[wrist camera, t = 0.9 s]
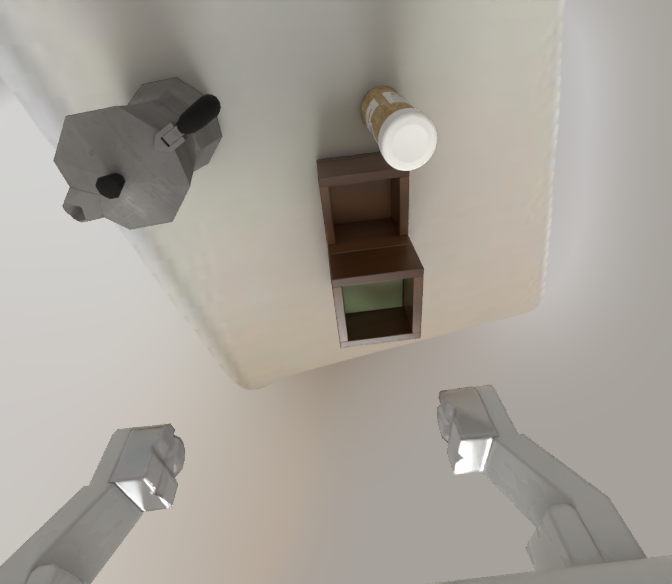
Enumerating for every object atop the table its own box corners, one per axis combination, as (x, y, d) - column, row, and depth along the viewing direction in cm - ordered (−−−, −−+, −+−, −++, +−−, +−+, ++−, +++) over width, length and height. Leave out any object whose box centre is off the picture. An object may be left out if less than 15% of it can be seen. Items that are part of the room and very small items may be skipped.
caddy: (316, 160, 42) (320, 206, 32) (397, 149, 42) (427, 193, 32) (333, 283, 53) (340, 348, 43) (397, 275, 53) (420, 338, 43)
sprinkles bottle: (352, 107, 39) (370, 142, 29) (385, 75, 38) (418, 98, 27) (377, 140, 42) (403, 183, 31) (410, 110, 40) (449, 145, 29)
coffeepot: (167, 193, 44) (101, 280, 29) (98, 121, 38) (-23, 184, 24) (271, 117, 39) (252, 176, 25) (208, 26, 34) (141, 34, 20)
